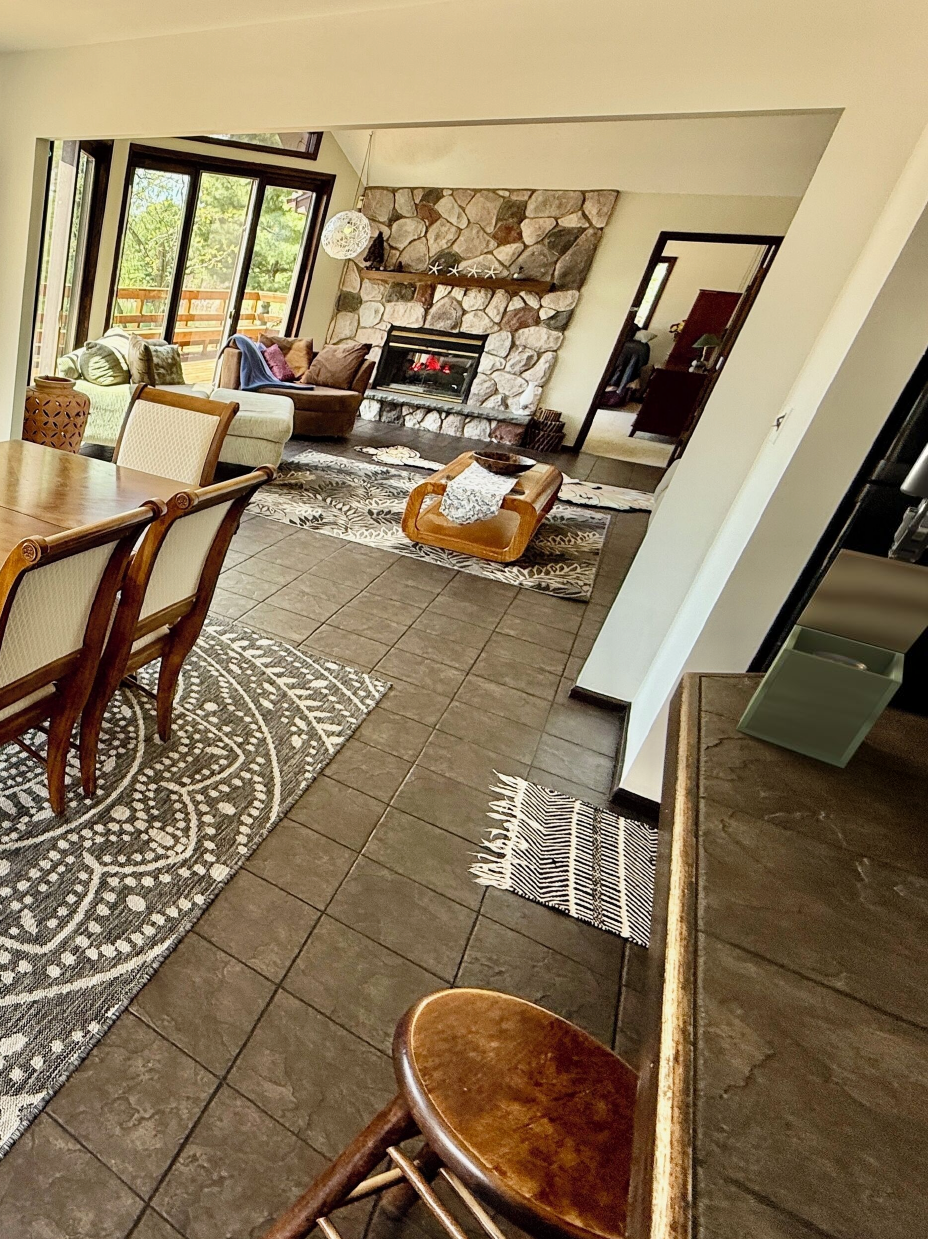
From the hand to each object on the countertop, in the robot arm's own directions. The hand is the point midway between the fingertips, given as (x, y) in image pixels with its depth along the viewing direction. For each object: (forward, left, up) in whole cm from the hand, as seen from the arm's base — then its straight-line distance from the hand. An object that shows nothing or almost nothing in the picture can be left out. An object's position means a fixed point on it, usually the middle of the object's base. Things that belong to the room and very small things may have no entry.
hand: (885, 582), depth 106 cm
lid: (0, 0, -3) cm, 3 cm away
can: (+1, +2, -24) cm, 24 cm away
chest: (+1, +2, -25) cm, 25 cm away
